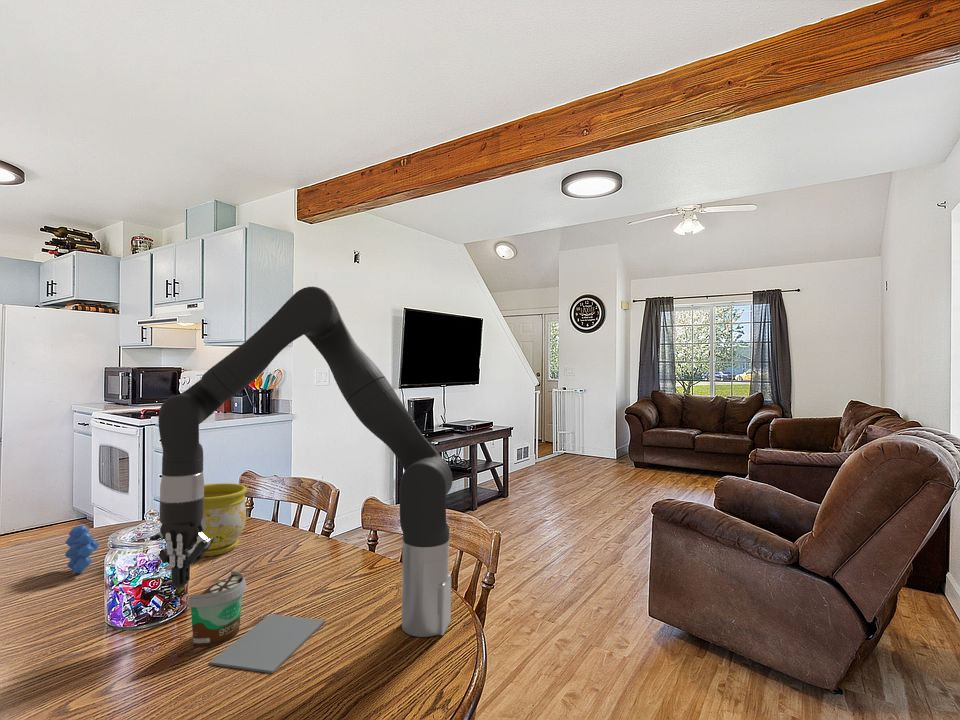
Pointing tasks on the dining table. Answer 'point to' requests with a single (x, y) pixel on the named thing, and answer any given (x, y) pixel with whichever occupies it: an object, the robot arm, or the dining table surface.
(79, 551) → the grapes
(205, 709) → the dining table surface
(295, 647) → the mat
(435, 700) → the dining table surface
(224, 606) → the food container
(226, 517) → the flowerpot
